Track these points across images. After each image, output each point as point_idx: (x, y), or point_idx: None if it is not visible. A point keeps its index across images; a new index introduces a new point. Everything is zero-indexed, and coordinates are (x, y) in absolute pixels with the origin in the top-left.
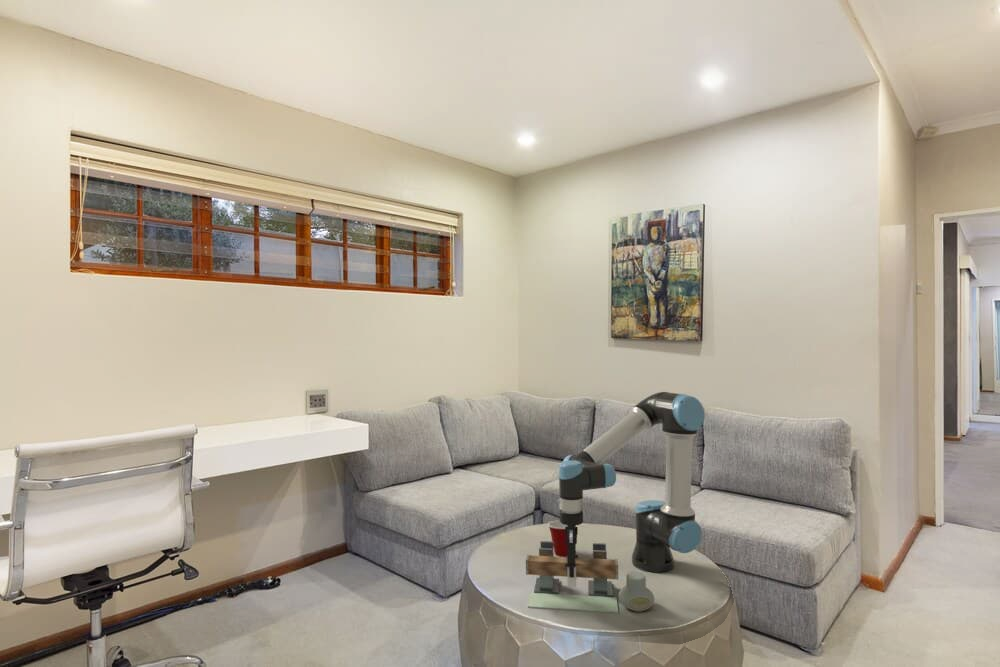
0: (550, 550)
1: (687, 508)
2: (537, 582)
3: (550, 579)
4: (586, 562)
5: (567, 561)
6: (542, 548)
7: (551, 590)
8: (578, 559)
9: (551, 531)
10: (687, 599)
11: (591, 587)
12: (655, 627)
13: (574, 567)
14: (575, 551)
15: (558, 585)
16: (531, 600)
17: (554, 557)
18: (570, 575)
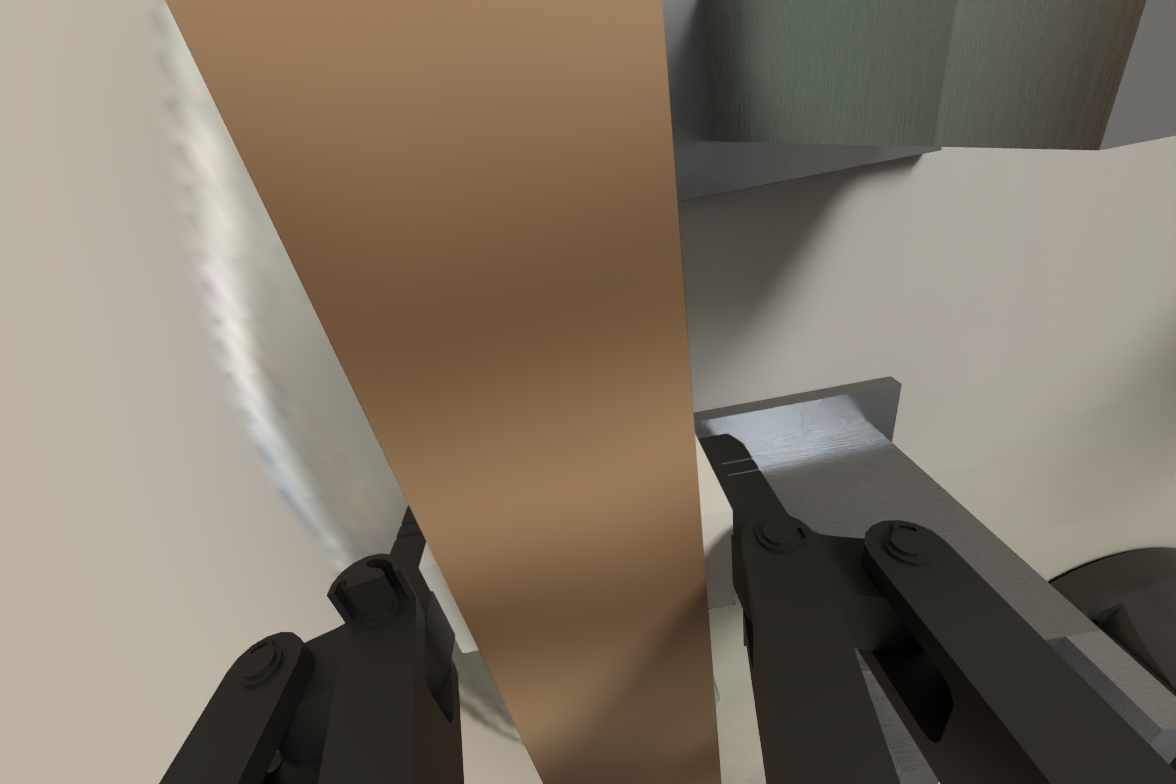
0: (1085, 92)
1: None
2: None
3: (745, 113)
4: (575, 751)
5: (168, 769)
6: None
7: (699, 129)
8: (649, 674)
9: None
10: (734, 735)
11: (789, 422)
12: (471, 689)
13: (458, 625)
14: (761, 743)
15: (805, 174)
16: None
17: (631, 318)
18: (412, 521)
